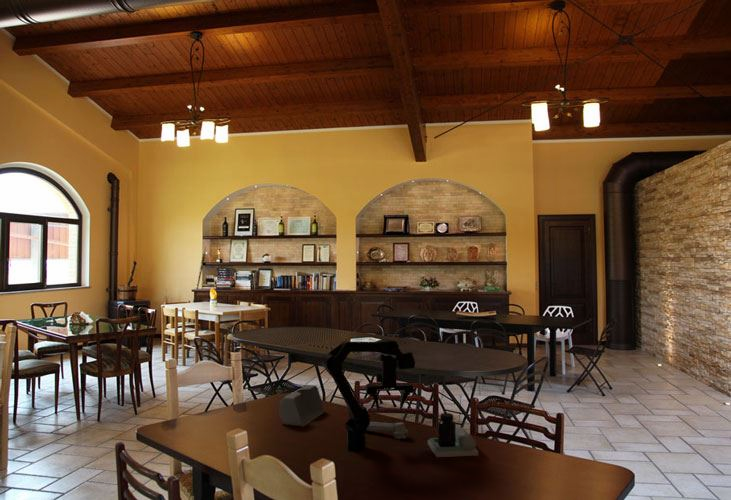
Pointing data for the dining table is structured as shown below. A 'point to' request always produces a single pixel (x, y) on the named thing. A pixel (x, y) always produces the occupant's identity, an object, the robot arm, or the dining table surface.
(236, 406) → the dining table surface
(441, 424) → the supplement bottle
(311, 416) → the grey faceted block
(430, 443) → the motor mount
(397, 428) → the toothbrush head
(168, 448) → the dining table surface
